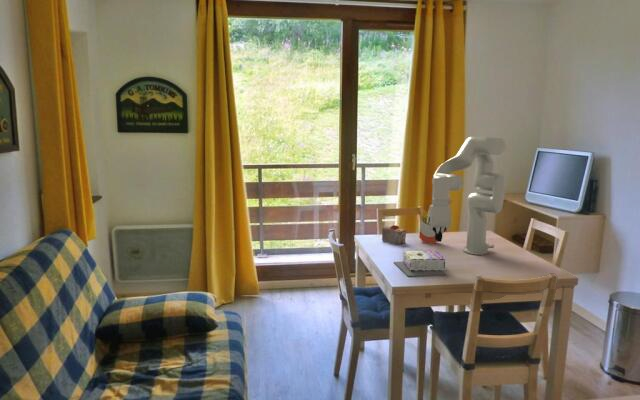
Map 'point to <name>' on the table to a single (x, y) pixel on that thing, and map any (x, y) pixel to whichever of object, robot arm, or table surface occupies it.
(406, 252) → the candy box
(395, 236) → the food item
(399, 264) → the mat
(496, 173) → the robot arm
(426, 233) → the french fries container
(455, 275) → the table surface
